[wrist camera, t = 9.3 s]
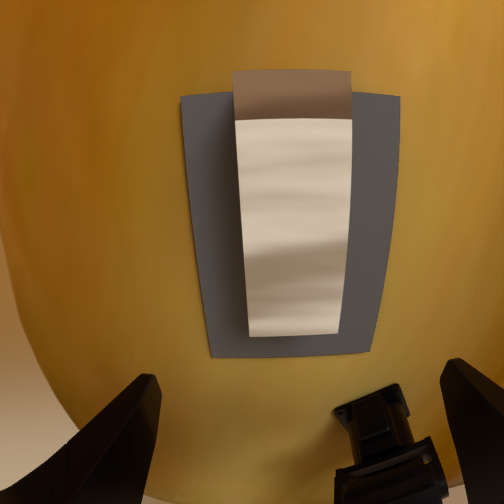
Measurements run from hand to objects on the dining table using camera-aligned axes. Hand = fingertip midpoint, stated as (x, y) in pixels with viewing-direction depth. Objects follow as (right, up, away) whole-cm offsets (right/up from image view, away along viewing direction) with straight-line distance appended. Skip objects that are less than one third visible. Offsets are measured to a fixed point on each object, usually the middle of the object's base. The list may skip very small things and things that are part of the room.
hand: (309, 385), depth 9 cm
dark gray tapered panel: (+1, +4, +11) cm, 12 cm away
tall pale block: (+1, +1, +10) cm, 10 cm away
